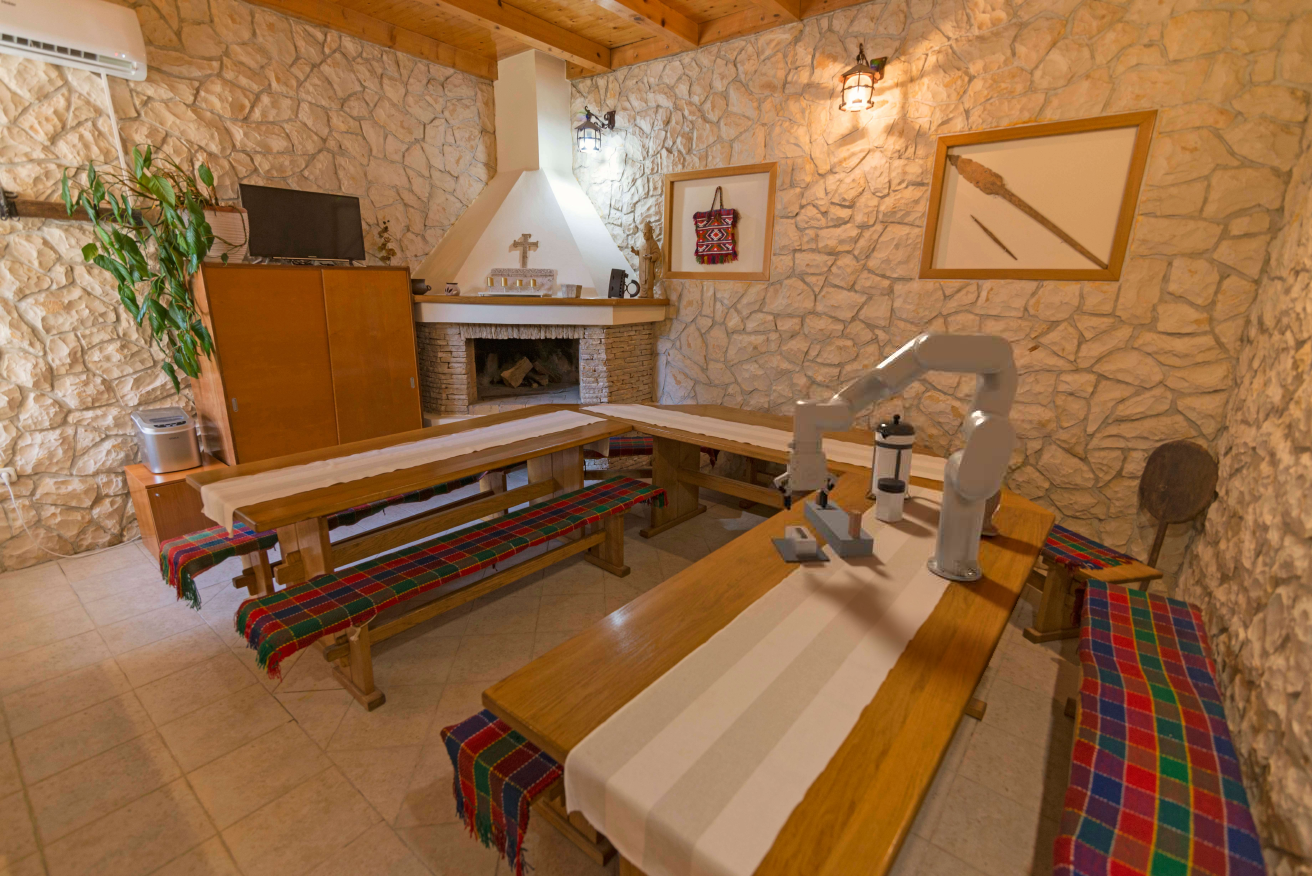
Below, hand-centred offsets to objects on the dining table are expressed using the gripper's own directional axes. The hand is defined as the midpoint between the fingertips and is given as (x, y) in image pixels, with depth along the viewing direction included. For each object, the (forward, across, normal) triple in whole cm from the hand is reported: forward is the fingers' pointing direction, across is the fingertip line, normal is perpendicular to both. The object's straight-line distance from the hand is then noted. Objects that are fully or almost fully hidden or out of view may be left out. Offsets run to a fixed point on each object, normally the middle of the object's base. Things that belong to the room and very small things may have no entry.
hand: (804, 507), depth 153 cm
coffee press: (+14, +44, +40) cm, 61 cm away
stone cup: (+14, +55, +11) cm, 58 cm away
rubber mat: (+12, -1, 0) cm, 13 cm away
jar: (+14, +35, +22) cm, 44 cm away
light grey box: (+12, -1, 0) cm, 12 cm away
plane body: (+13, +13, +10) cm, 21 cm away
